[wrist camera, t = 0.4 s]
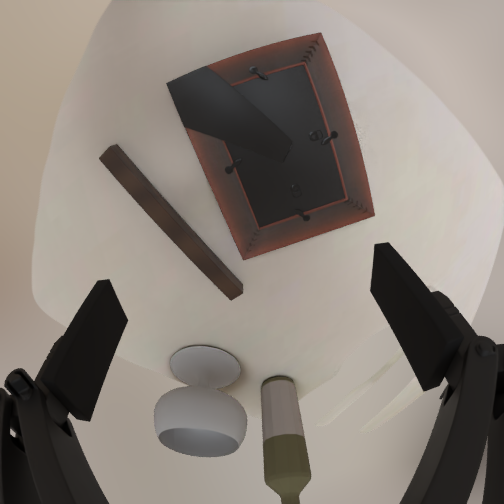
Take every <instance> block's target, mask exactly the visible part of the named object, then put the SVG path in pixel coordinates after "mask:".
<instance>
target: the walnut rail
mask: <svg viewBox="0 0 504 504" xmlns="http://www.w3.org/2000/svg"><path fill="white" fill-rule="evenodd" d="M99 159H100V161H101V162H102V163H103V164H104V165H105V166H106V168H107V169H108V170H109V171H110V172H111V173H112V175H113V176H114V177H115V178H116V179H117V180H118V181H119V183H120V184H121V185H122V186H123V187H124V188H125V189H126V191H127V192H128V193H129V194H130V195H131V196H132V197H133V198H134V199H135V201H136V202H137V203H138V204H139V205H140V206H141V207H142V208H143V209H144V211H145V212H146V213H147V214H148V215H149V216H150V217H151V218H152V219H153V220H154V222H155V223H156V224H157V225H158V226H159V227H160V228H161V229H162V230H163V231H164V232H165V233H166V234H167V236H168V237H169V238H170V239H171V240H172V241H173V242H174V243H175V244H176V245H177V246H178V247H179V248H180V249H181V250H182V251H183V252H184V253H185V255H186V256H187V257H188V258H189V259H190V260H191V261H192V262H193V263H194V264H195V265H196V266H197V267H198V268H199V269H200V270H201V271H202V272H203V273H204V274H205V275H206V276H207V277H208V278H209V279H210V280H211V281H212V282H213V283H214V284H215V285H216V286H217V287H218V288H219V289H220V290H221V291H222V292H223V293H224V294H225V295H226V296H227V297H228V298H229V299H230V300H233V299H235V298H236V297H238V296H240V295H241V294H243V284H242V283H241V282H240V281H239V280H238V279H237V278H236V277H235V276H234V275H233V273H232V272H231V271H230V270H229V269H228V268H227V267H226V266H225V265H224V264H223V263H222V262H221V261H220V260H219V258H218V257H217V256H216V255H215V254H214V253H213V252H212V251H211V250H210V249H209V248H208V247H207V245H206V244H205V243H204V242H203V241H202V240H201V239H200V238H199V237H198V236H197V235H196V233H195V232H194V231H193V230H192V229H191V228H190V227H189V226H188V225H187V224H186V222H185V221H184V220H183V219H182V218H181V217H180V216H179V215H178V214H177V212H176V211H175V210H174V209H173V208H172V207H171V206H170V205H169V204H168V202H167V201H166V200H165V199H164V198H163V197H162V196H161V195H160V193H159V192H158V191H157V190H156V189H155V188H154V187H153V185H152V184H151V183H150V182H149V181H148V180H147V179H146V178H145V176H144V175H143V174H142V173H141V172H140V171H139V169H138V168H137V167H136V166H135V165H134V164H133V163H132V161H131V160H130V159H129V158H128V157H127V156H126V154H125V153H124V152H123V151H122V150H121V149H120V147H119V146H118V145H117V144H115V145H113V146H110V147H109V148H108V149H107V150H106V151H105V152H104V153H103V154H102V156H101V157H100V158H99Z"/></svg>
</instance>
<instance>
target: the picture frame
mask: <svg viewBox="0 0 504 504" xmlns="http://www.w3.org/2000/svg"><path fill="white" fill-rule="evenodd" d="M166 84H167V87H168V89H169V91H170V94H171V96H172V99H173V101H174V104H175V106H176V108H177V111H178V113H179V116H180V118H181V120H182V123H183V125H184V127H185V128H186V131H187V133H188V135H189V138H190V140H191V142H192V145H193V147H194V149H195V152H196V154H197V156H198V159H199V161H200V163H201V165H202V168H203V170H204V172H205V175H206V177H207V179H208V182H209V184H210V186H211V188H212V191H213V193H214V195H215V198H216V200H217V202H218V204H219V207H220V209H221V211H222V213H223V216H224V218H225V220H226V223H227V225H228V227H229V229H230V232H231V234H232V236H233V238H234V241H235V243H236V245H237V247H238V250H239V252H240V254H241V256H242V259H243V260H246V259H249V258H252V257H255V256H258V255H261V254H264V253H267V252H270V251H273V250H276V249H279V248H282V247H285V246H288V245H291V244H294V243H297V242H299V241H302V240H305V239H308V238H311V237H314V236H317V235H320V234H323V233H326V232H329V231H332V230H335V229H338V228H341V227H344V226H346V225H349V224H352V223H355V222H358V221H361V220H364V219H367V218H370V217H373V216H375V213H374V208H373V203H372V197H371V193H370V188H369V183H368V179H367V174H366V170H365V165H364V161H363V157H362V153H361V149H360V145H359V142H358V138H357V134H356V131H355V127H354V124H353V120H352V117H351V114H350V110H349V107H348V104H347V101H346V98H345V95H344V92H343V89H342V86H341V83H340V80H339V77H338V74H337V72H336V69H335V66H334V64H333V61H332V58H331V56H330V53H329V51H328V48H327V46H326V43H325V41H324V38H323V36H322V34H321V33H316V34H311V35H306V36H302V37H297V38H293V39H289V40H285V41H281V42H277V43H274V44H270V45H266V46H263V47H260V48H256V49H253V50H250V51H247V52H244V53H241V54H238V55H235V56H232V57H229V58H226V59H224V60H221V61H218V62H215V63H213V64H210V65H208V66H204V67H202V68H200V69H197V70H195V71H192V72H190V73H188V74H186V75H183V76H181V77H179V78H177V79H175V80H172V81H170V82H168V83H166Z"/></svg>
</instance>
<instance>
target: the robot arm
mask: <svg viewBox="0 0 504 504" xmlns="http://www.w3.org/2000/svg"><path fill="white" fill-rule="evenodd" d="M370 292H371V293H372V295H373V297H374V298H375V300H376V302H377V304H378V305H379V307H380V309H381V311H382V312H383V314H384V316H385V318H386V320H387V321H388V323H389V325H390V327H391V329H392V330H393V332H394V334H395V336H396V338H397V340H398V342H399V343H400V345H401V347H402V349H403V351H404V353H405V355H406V357H407V359H408V361H409V363H410V365H411V367H412V369H413V371H414V373H415V375H416V377H417V379H418V381H419V383H420V385H421V387H422V389H423V391H427V390H430V389H432V388H435V387H438V386H440V384H441V382H442V380H443V379H444V377H445V378H446V379H447V382H448V385H447V386H446V388H445V390H444V391H443V393H442V395H441V396H440V399H442V398H443V400H442V403H441V406H440V410H439V413H438V416H437V419H436V422H435V425H434V428H433V430H432V433H431V436H430V439H429V441H428V444H427V446H426V449H425V452H424V454H423V456H422V459H421V461H420V463H419V465H418V468H417V470H416V472H415V474H414V476H413V479H412V481H411V483H410V485H409V487H408V489H407V491H406V493H405V494H404V496H403V498H402V500H401V502H400V504H467V501H468V499H469V496H470V493H471V490H472V488H473V485H474V482H475V479H476V476H477V473H478V469H479V467H480V463H481V460H482V456H483V452H484V449H485V445H486V441H487V436H488V449H487V468H486V478H485V487H484V495H483V501H482V504H504V344H498V345H496V344H495V342H493V341H492V340H491V339H490V338H488V337H485V336H478V335H477V334H476V333H475V331H474V330H473V329H472V327H471V326H470V325H469V323H468V322H467V321H466V319H465V318H464V317H463V316H462V314H461V313H459V310H458V309H457V308H456V307H454V304H453V303H452V302H451V300H450V299H449V298H448V297H447V296H445V295H444V294H442V293H441V292H439V291H435V292H430V290H429V289H428V288H427V287H426V285H425V284H424V283H423V282H422V280H421V279H420V278H419V277H418V276H417V274H416V273H415V272H414V271H413V270H412V268H411V267H410V266H409V265H408V264H407V263H406V261H405V260H404V259H403V258H402V257H401V256H400V255H399V253H398V252H397V251H396V250H395V249H394V248H393V247H392V246H391V245H390V243H389V242H387V243H380V244H375V246H374V258H373V269H372V279H371V287H370ZM127 322H128V319H127V317H126V315H125V313H124V311H123V309H122V306H121V304H120V302H119V300H118V298H117V295H116V293H115V291H114V289H113V286H112V284H111V282H110V279H107V280H99V281H97V282H96V284H95V285H94V287H93V288H92V290H91V291H90V293H89V294H88V296H87V298H86V299H85V301H84V302H83V304H82V305H81V307H80V309H79V310H78V312H77V313H76V315H75V317H74V318H73V320H72V322H71V323H70V325H69V327H68V328H67V330H66V332H65V334H64V335H63V336H61V337H60V338H59V339H58V340H57V341H56V342H55V343H54V345H53V347H52V349H51V350H50V353H49V354H48V356H47V360H45V361H44V363H43V365H42V367H41V369H40V371H39V373H38V375H37V377H36V379H35V381H33V380H32V379H31V377H30V376H29V375H28V374H27V372H26V371H25V370H24V369H22V368H20V369H19V368H18V369H15V370H13V371H12V372H11V373H10V374H9V375H8V376H7V378H6V380H5V384H4V386H5V388H7V390H8V391H9V392H10V393H11V394H12V395H9V394H8V393H7V392H6V391H5V390H4V389H3V388H0V504H109V502H108V501H107V499H106V497H105V495H104V494H103V492H102V490H101V488H100V486H99V484H98V482H97V480H96V478H95V476H94V475H93V472H92V470H91V468H90V466H89V464H88V462H87V460H86V457H85V455H84V453H83V451H82V448H81V446H80V443H79V441H78V439H77V436H76V433H75V431H74V428H73V426H72V423H71V421H70V420H69V418H67V417H68V414H69V412H70V413H71V414H72V415H73V416H74V417H75V418H76V419H78V420H83V421H89V422H90V420H91V417H92V414H93V411H94V408H95V405H96V402H97V400H98V396H99V394H100V391H101V388H102V385H103V382H104V380H105V377H106V374H107V372H108V369H109V366H110V364H111V361H112V359H113V356H114V354H115V351H116V349H117V346H118V344H119V341H120V339H121V336H122V334H123V331H124V329H125V327H126V324H127ZM10 428H11V429H12V430H13V431H14V432H15V433H16V436H15V437H13V436H12V435H11V434H10Z"/></svg>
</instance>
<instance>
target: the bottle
mask: <svg viewBox="0 0 504 504" xmlns="http://www.w3.org/2000/svg"><path fill="white" fill-rule="evenodd" d="M261 406H262V429H263V430H262V431H263V456H264V478H265V483H266V485H268V486H269V487H270V488H271V489H272V490H274V491H275V492H276V493H277V494H279V495H280V497H281V502H282V504H300V501H299V494H300V492H301V491H302V490H303V489H304V487H305V486H306V485H307V484H308V482H309V481H310V479H311V471H310V465H309V459H308V453H307V448H306V442H305V436H304V431H303V426H302V420H301V414H300V409H299V404H298V398H297V393H296V388H295V385H294V383H293V380H291V379H289V378H287V377H274V378H270V379H268V380H267V381H265V382H264V383H263V385H262V388H261Z"/></svg>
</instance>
